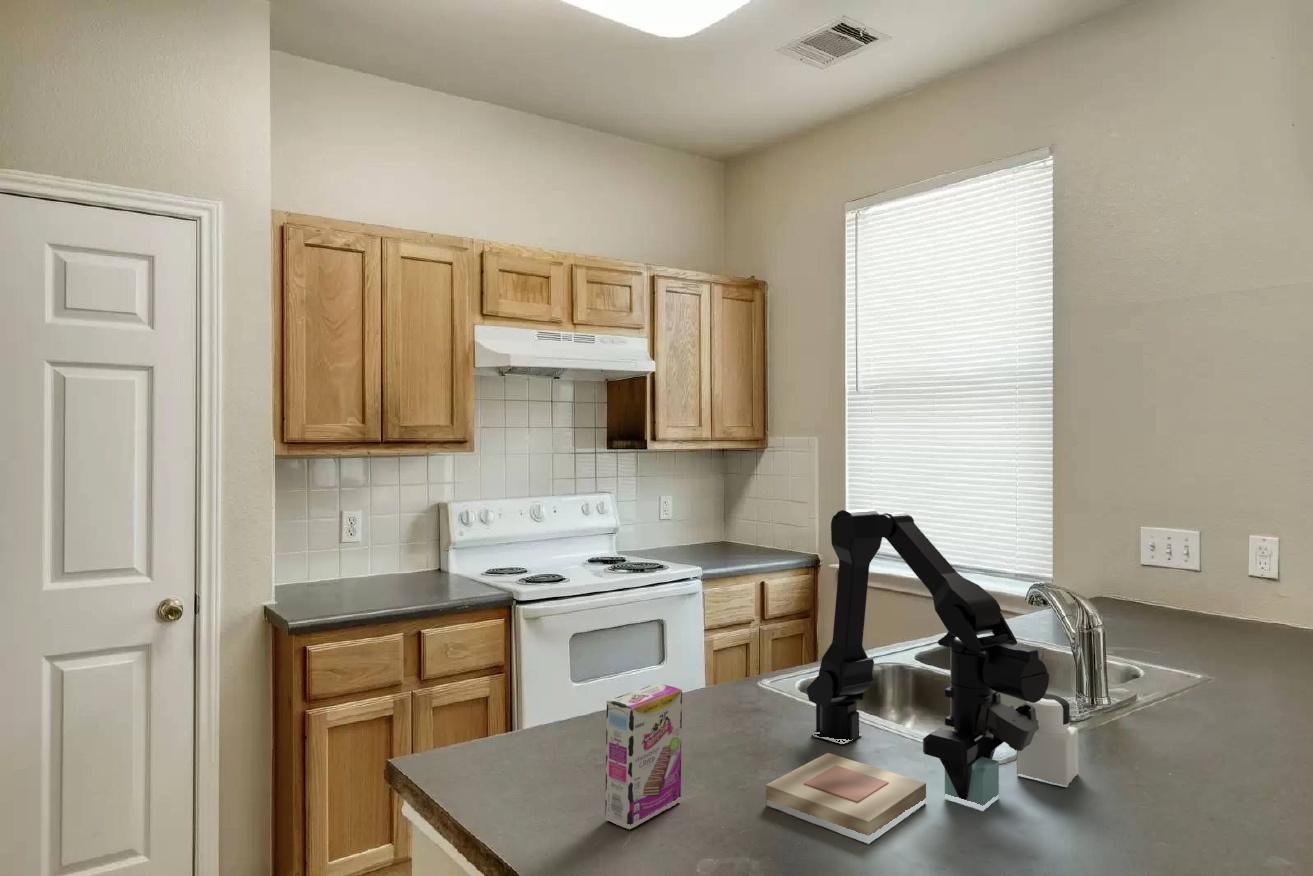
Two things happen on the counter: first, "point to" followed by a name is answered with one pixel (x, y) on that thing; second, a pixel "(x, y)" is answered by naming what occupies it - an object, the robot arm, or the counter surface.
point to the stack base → (847, 793)
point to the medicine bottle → (1051, 743)
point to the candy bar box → (643, 752)
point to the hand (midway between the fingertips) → (971, 792)
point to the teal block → (979, 781)
